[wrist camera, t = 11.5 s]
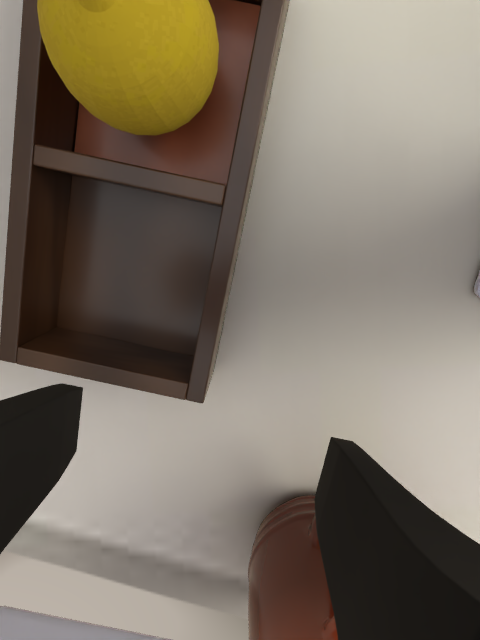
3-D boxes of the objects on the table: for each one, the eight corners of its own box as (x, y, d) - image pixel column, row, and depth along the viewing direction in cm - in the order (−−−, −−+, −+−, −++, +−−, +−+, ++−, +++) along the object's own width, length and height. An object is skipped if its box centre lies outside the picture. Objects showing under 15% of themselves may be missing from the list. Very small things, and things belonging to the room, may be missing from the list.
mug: (379, 608, 25) (460, 872, 15) (234, 595, 25) (217, 844, 15) (411, 427, 22) (538, 600, 12) (247, 414, 22) (236, 572, 12)
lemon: (240, 134, 18) (224, 67, 10) (122, 164, 19) (23, 122, 11) (210, -6, 17) (167, -199, 9) (85, 31, 18) (-55, -122, 10)
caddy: (290, -4, 17) (298, -68, 14) (213, 371, 22) (203, 404, 18) (82, -48, 17) (30, -126, 14) (45, 335, 22) (-3, 360, 18)
